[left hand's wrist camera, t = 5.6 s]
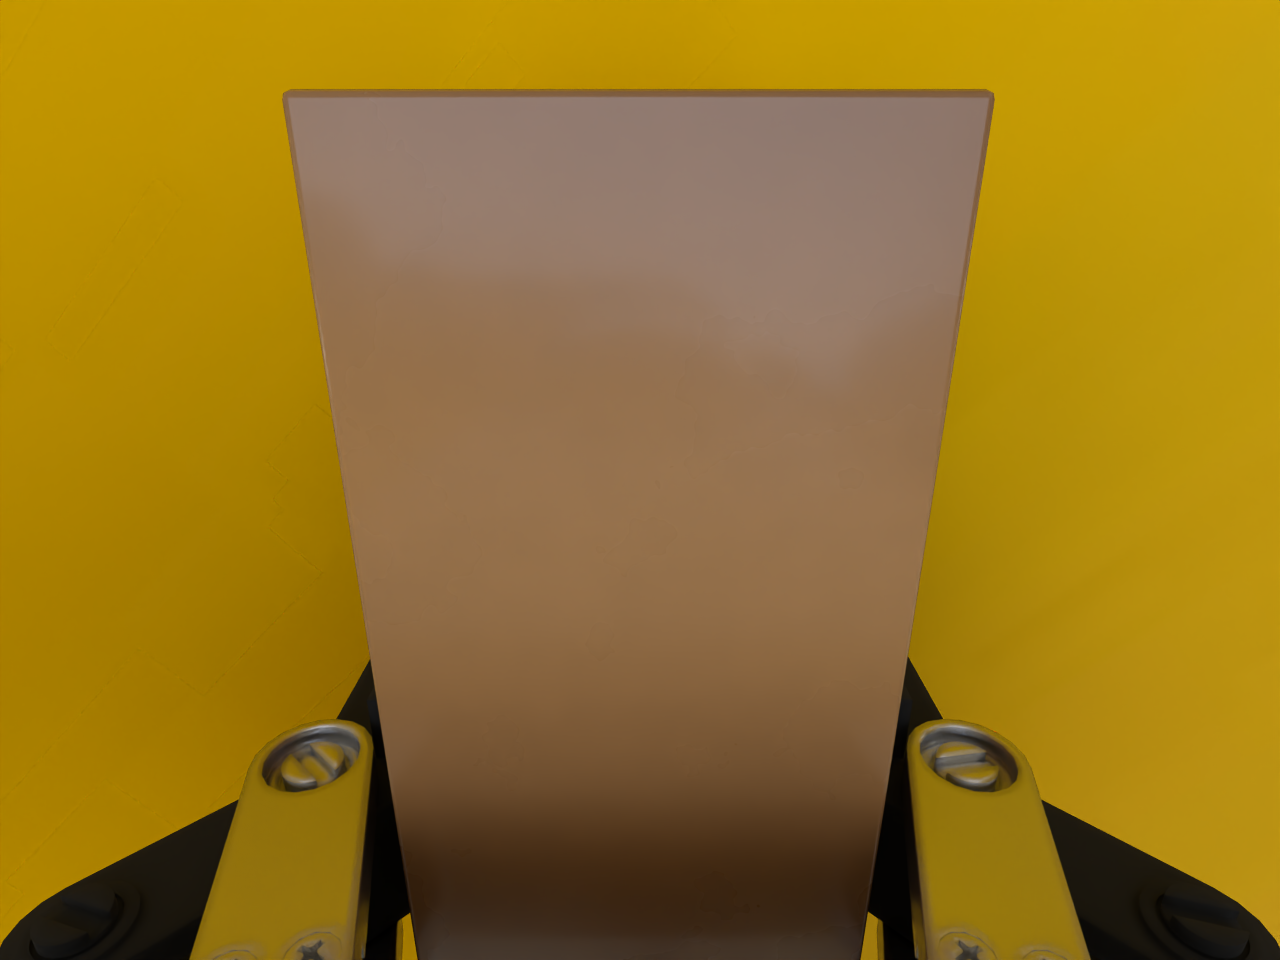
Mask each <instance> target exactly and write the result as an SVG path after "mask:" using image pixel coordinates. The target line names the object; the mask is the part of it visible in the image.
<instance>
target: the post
mask: <svg viewBox="0 0 1280 960" xmlns="http://www.w3.org/2000/svg"><path fill="white" fill-rule="evenodd" d="M282 100H283V106H284V113H285V119H286V125H287V132H288V138H289V144H290V151H291V157H292V164H293V170H294V176H295V183H296V189H297V195H298V202H299V208H300V214H301V221H302V227H303V233H304V240H305V246H306V253H307V259H308V265H309V272H310V278H311V284H312V291H313V297H314V303H315V310H316V316H317V322H318V329H319V335H320V342H321V348H322V354H323V361H324V367H325V373H326V380H327V386H328V392H329V399H330V405H331V411H332V418H333V424H334V431H335V437H336V443H337V450H338V456H339V462H340V469H341V475H342V481H343V488H344V494H345V500H346V507H347V513H348V520H349V526H350V532H351V539H352V545H353V551H354V558H355V564H356V570H357V577H358V583H359V589H360V596H361V602H362V609H363V615H364V621H365V628H366V634H367V640H368V647H369V653H370V659H371V666H372V672H373V678H374V685H375V691H376V698H377V704H378V710H379V717H380V723H381V729H382V736H383V742H384V748H385V755H386V761H387V767H388V774H389V780H390V787H391V793H392V799H393V806H394V812H395V818H396V825H397V831H398V837H399V844H400V850H401V856H402V863H403V869H404V876H405V882H406V888H407V895H408V901H409V907H410V914H411V920H412V926H413V933H414V939H415V945H416V952H417V958H418V960H860V959H861V952H862V946H863V940H864V933H865V927H866V920H867V914H868V908H869V901H870V895H871V888H872V882H873V876H874V869H875V863H876V856H877V850H878V843H879V837H880V831H881V824H882V818H883V811H884V805H885V799H886V792H887V786H888V779H889V773H890V767H891V760H892V754H893V747H894V741H895V734H896V728H897V722H898V715H899V709H900V702H901V696H902V690H903V683H904V677H905V670H906V664H907V658H908V651H909V645H910V638H911V632H912V625H913V619H914V613H915V606H916V600H917V593H918V587H919V581H920V574H921V568H922V561H923V555H924V549H925V542H926V536H927V529H928V523H929V516H930V510H931V504H932V497H933V491H934V484H935V478H936V472H937V465H938V459H939V452H940V446H941V440H942V433H943V427H944V420H945V414H946V407H947V401H948V395H949V388H950V382H951V375H952V369H953V363H954V356H955V350H956V343H957V337H958V331H959V324H960V318H961V311H962V305H963V298H964V292H965V286H966V279H967V273H968V266H969V260H970V254H971V247H972V241H973V234H974V228H975V222H976V215H977V209H978V202H979V196H980V189H981V183H982V177H983V170H984V164H985V157H986V151H987V145H988V138H989V132H990V125H991V119H992V113H993V106H994V93H993V92H991V91H989V90H987V89H290V90H288V91H286V92H284V93H283V99H282Z"/></svg>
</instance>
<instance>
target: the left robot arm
mask: <svg viewBox="0 0 1280 960" xmlns="http://www.w3.org/2000/svg"><path fill="white" fill-rule="evenodd" d="M868 912H870V913H871V914H872V915H874V916H875V917H877V918H878V925H877V949H878V960H1280V948H1279V946H1278V943H1277V941H1276V940H1275V939H1274V937H1273V936H1272V935H1271V934H1270V933H1269V932H1268V930H1267V929H1266V928H1265V927H1264V926H1263V924H1262V923H1261V922H1260V921H1259V920H1258V919H1257V918H1256V917H1254V916H1253V915H1252V914H1251V913H1250V912H1249V911H1247V910H1246V909H1245V908H1244V907H1243V906H1241V905H1240V904H1239V903H1238V902H1236V901H1234V900H1233V899H1231V898H1230V897H1228V896H1226V895H1225V894H1223V893H1221V892H1220V891H1218V890H1216V889H1215V888H1213V887H1211V886H1209V885H1207V884H1205V883H1203V882H1201V881H1199V880H1197V879H1195V878H1193V877H1191V876H1190V875H1188V874H1186V873H1184V872H1182V871H1180V870H1178V869H1176V868H1174V867H1172V866H1170V865H1168V864H1166V863H1164V862H1162V861H1160V860H1158V859H1156V858H1154V857H1152V856H1150V855H1148V854H1147V853H1145V852H1143V851H1141V850H1139V849H1137V848H1135V847H1133V846H1131V845H1129V844H1127V843H1125V842H1123V841H1121V840H1119V839H1117V838H1115V837H1113V836H1111V835H1109V834H1107V833H1105V832H1104V831H1102V830H1100V829H1098V828H1096V827H1094V826H1092V825H1090V824H1088V823H1086V822H1084V821H1082V820H1080V819H1078V818H1076V817H1074V816H1072V815H1070V814H1068V813H1066V812H1064V811H1062V810H1060V809H1059V808H1057V807H1055V806H1053V805H1051V804H1049V803H1047V802H1045V801H1043V800H1041V798H1040V795H1039V791H1038V788H1037V785H1036V782H1035V778H1034V775H1033V772H1032V769H1031V767H1030V765H1029V763H1028V761H1027V759H1026V757H1025V755H1024V754H1023V753H1022V752H1021V751H1020V750H1019V749H1018V748H1017V747H1016V746H1015V745H1014V744H1013V743H1012V742H1010V741H1009V740H1007V739H1006V738H1004V737H1003V736H1001V735H1000V734H998V733H997V732H994V731H992V730H990V729H987V728H985V727H983V726H980V725H978V724H974V723H970V722H965V721H961V720H949V719H943V718H942V716H941V714H940V713H939V711H938V709H937V707H936V706H935V704H934V702H933V700H932V698H931V697H930V695H929V693H928V691H927V690H926V688H925V686H924V684H923V682H922V681H921V679H920V677H919V675H918V674H917V672H916V670H915V668H914V666H913V665H912V663H911V661H910V659H909V658H907V664H906V670H905V677H904V683H903V690H902V696H901V702H900V709H899V715H898V722H897V728H896V734H895V741H894V747H893V754H892V760H891V767H890V773H889V779H888V786H887V792H886V799H885V805H884V811H883V818H882V824H881V831H880V837H879V843H878V850H877V856H876V863H875V869H874V876H873V882H872V888H871V895H870V901H869V908H868ZM409 913H410V907H409V901H408V895H407V888H406V882H405V876H404V869H403V863H402V856H401V850H400V844H399V837H398V831H397V825H396V818H395V812H394V806H393V799H392V793H391V787H390V780H389V774H388V767H387V761H386V755H385V748H384V742H383V736H382V729H381V723H380V717H379V710H378V704H377V698H376V691H375V685H374V678H373V672H372V666H371V659H370V660H369V662H368V664H367V666H366V668H365V669H364V671H363V673H362V675H361V676H360V678H359V680H358V682H357V684H356V685H355V687H354V689H353V691H352V692H351V694H350V696H349V698H348V700H347V701H346V703H345V705H344V707H343V708H342V710H341V712H340V714H339V716H338V717H337V719H331V720H319V721H315V722H310V723H306V724H302V725H300V726H297V727H295V728H293V729H290V730H288V731H286V732H283V733H282V734H280V735H279V736H277V737H276V738H274V739H273V740H271V741H270V742H268V743H267V744H266V745H265V746H264V747H263V748H262V749H261V750H260V751H259V752H258V753H257V754H256V755H255V757H254V759H253V761H252V763H251V765H250V767H249V769H248V772H247V775H246V778H245V782H244V785H243V788H242V791H241V795H240V798H239V800H237V801H235V802H233V803H231V804H229V805H227V806H225V807H223V808H221V809H219V810H217V811H215V812H213V813H211V814H209V815H207V816H205V817H204V818H202V819H200V820H198V821H196V822H194V823H192V824H190V825H188V826H186V827H184V828H182V829H180V830H178V831H176V832H174V833H172V834H170V835H168V836H166V837H164V838H162V839H161V840H159V841H157V842H155V843H153V844H151V845H149V846H147V847H145V848H143V849H141V850H139V851H137V852H135V853H133V854H131V855H129V856H127V857H125V858H123V859H121V860H119V861H117V862H116V863H114V864H112V865H110V866H108V867H106V868H104V869H102V870H100V871H98V872H96V873H94V874H92V875H90V876H88V877H86V878H84V879H82V880H80V881H78V882H76V883H74V884H73V885H71V886H69V887H67V888H65V889H63V890H62V891H60V892H58V893H57V894H55V895H53V896H52V897H50V898H48V899H47V900H45V901H43V902H42V903H41V904H39V905H38V906H37V907H36V908H35V909H33V910H32V911H31V912H30V913H29V914H27V915H26V916H25V917H24V918H23V919H21V920H20V921H19V923H18V924H17V925H16V926H15V927H14V929H13V930H12V931H11V932H10V933H9V934H8V936H7V937H6V938H5V939H4V940H3V942H2V944H1V946H0V960H402V949H403V925H402V918H403V917H404V916H406V915H407V914H409Z"/></svg>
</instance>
